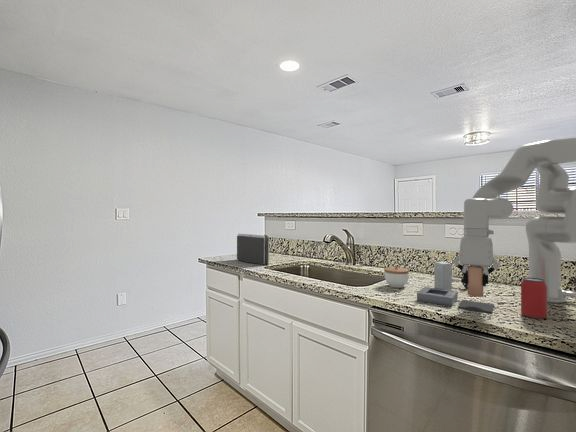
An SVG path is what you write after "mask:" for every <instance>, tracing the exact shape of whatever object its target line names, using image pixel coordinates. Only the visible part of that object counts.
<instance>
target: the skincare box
mask: <svg viewBox="0 0 576 432" xmlns="http://www.w3.org/2000/svg"><path fill="white" fill-rule="evenodd" d="M452 264H453V263H450V262H446V261H434V266H433V267H434V268H433V269H434V278H433V279H434V280H433V281H434V286H433V288H438V289H446V290H453V288H452V287H453V286H452V285H453V283H452V276H453V273H452V272H453V271H452V269H453V268H452V266H453V265H452Z"/></svg>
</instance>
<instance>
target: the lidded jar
mask: <svg viewBox="0 0 576 432" xmlns="http://www.w3.org/2000/svg"><path fill="white" fill-rule="evenodd" d="M383 271H384V279H385V282H386V283H387V284H388V285H389V287H391V288H399V289H401V288H404V286H406V284H407V283H408V281H409V276H410V275H409V273H410V269H408V268H406V267H399V266H398V265H395V266H391V267H389V266H388V267H384V269H383Z"/></svg>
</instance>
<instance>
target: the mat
mask: <svg viewBox="0 0 576 432" xmlns="http://www.w3.org/2000/svg"><path fill="white" fill-rule="evenodd" d="M494 307H495V304H494V303H486V302H479V301H473V300H466V299H461V301H460V303H459V304H458V306H457V309H461V310H466V311H467V310H468V311H473V312H479V313H486V314H493V311H494Z"/></svg>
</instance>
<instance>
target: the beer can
mask: <svg viewBox="0 0 576 432" xmlns="http://www.w3.org/2000/svg"><path fill="white" fill-rule="evenodd" d="M520 283H521V284H520V313H521V315H523V316H525V317H527V318H531V319H537V320H539V319H540V320H541V319H542V320H543V319H547V317H548V302H547V286H546V283H545V280H543V279H540V278H532V277H529V276H528V277H527V276H526V277H525V276H524V277H523V278H522V281H521V282H520Z"/></svg>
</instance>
